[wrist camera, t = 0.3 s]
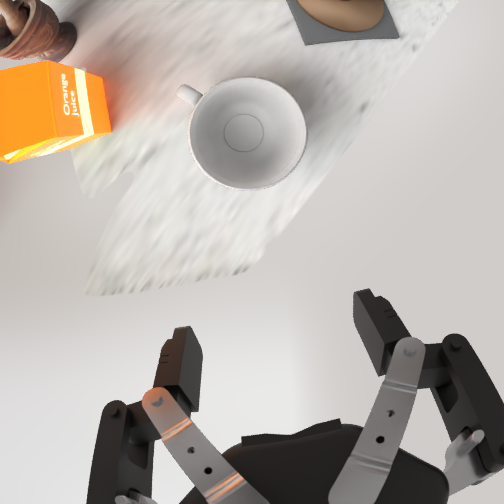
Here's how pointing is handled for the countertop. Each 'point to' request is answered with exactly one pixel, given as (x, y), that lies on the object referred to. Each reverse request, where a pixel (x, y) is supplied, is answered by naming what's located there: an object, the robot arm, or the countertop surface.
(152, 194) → the countertop surface
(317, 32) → the rubber mat
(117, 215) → the countertop surface
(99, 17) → the countertop surface
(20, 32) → the mortar and pestle
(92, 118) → the orange juice
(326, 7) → the walnut lid
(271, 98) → the teacup
